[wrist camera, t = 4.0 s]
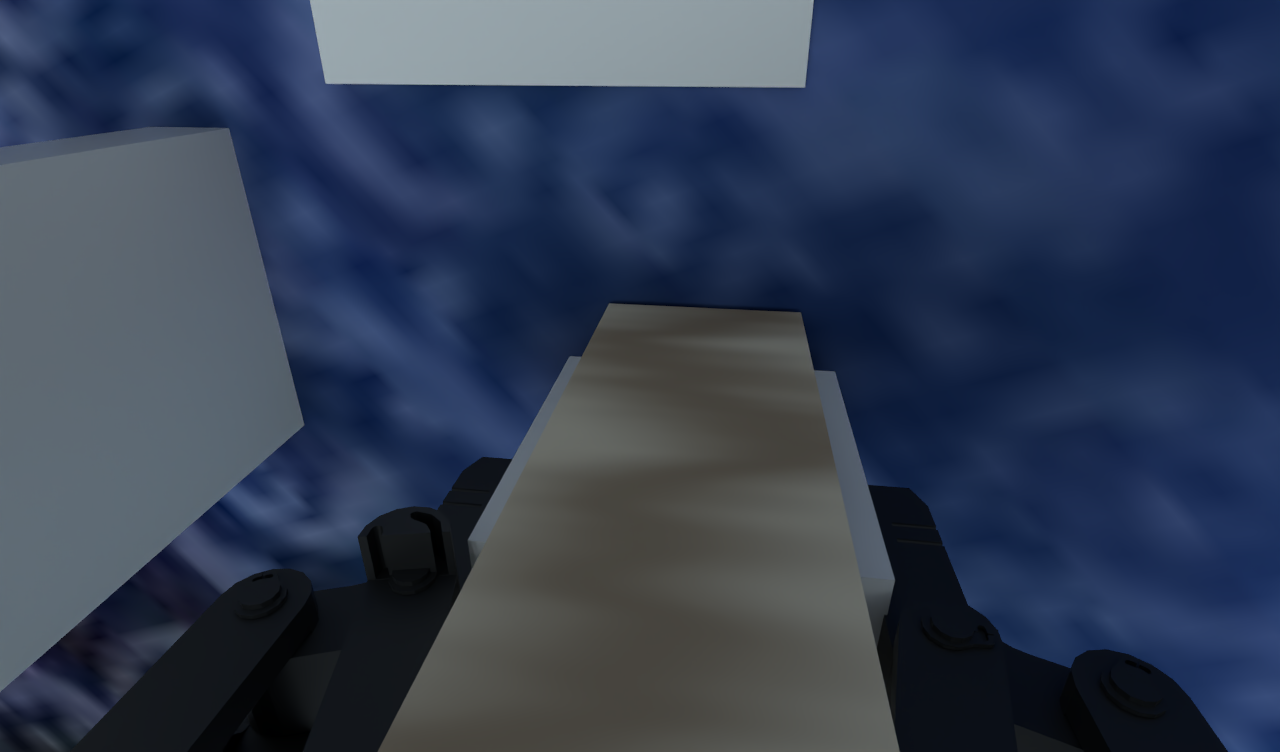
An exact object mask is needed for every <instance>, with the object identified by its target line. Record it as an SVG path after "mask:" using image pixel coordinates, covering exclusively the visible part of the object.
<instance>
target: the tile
mask: <svg viewBox="0 0 1280 752" xmlns="http://www.w3.org/2000/svg"><path fill="white" fill-rule="evenodd" d="M303 426H304V422H303V418H302V414H301V410H300V406H299V402H298V398H297V394H296V390H295V386H294V382H293V379H292V375H291V371H290V367H289V363H288V359H287V355H286V351H285V347H284V343H283V339H282V335H281V331H280V327H279V323H278V319H277V315H276V312H275V308H274V304H273V300H272V296H271V292H270V288H269V284H268V280H267V276H266V272H265V268H264V264H263V260H262V256H261V252H260V249H259V245H258V241H257V237H256V233H255V229H254V225H253V221H252V217H251V213H250V209H249V205H248V201H247V197H246V193H245V189H244V185H243V182H242V178H241V174H240V170H239V166H238V162H237V158H236V154H235V150H234V146H233V142H232V138H231V134H230V130H229V128H189V127H146V128H139V129H132V130H125V131H117V132H110V133H103V134H96V135H88V136H81V137H74V138H66V139H59V140H52V141H45V142H37V143H30V144H23V145H16V146H8V147H1V148H0V692H1V691H2V690H3V689H4V688H5V687H6V686H7V685H9V684H10V683H11V682H12V681H13V680H14V679H15V678H17V677H18V676H19V675H20V674H21V673H22V672H23V671H25V670H26V669H27V668H28V667H29V666H30V665H31V664H33V663H34V662H35V661H36V660H37V659H38V658H39V657H41V656H42V655H43V654H44V653H45V652H46V651H47V650H48V649H50V648H51V647H52V646H53V645H54V644H55V643H56V642H58V641H59V640H60V639H61V638H62V637H63V636H64V635H66V634H67V633H68V632H69V631H70V630H71V629H72V628H74V627H75V626H76V625H77V624H78V623H79V622H80V621H82V620H83V619H84V618H85V617H86V616H87V615H88V614H90V613H91V612H92V611H93V610H94V609H95V608H96V607H98V606H99V605H100V604H101V603H102V602H103V601H104V600H105V599H107V598H108V597H109V596H110V595H111V594H112V593H113V592H115V591H116V590H117V589H118V588H119V587H120V586H121V585H123V584H124V583H125V582H126V581H127V580H128V579H129V578H131V577H132V576H133V575H134V574H135V573H136V572H137V571H139V570H140V569H141V568H142V567H143V566H144V565H145V564H147V563H148V562H149V561H150V560H151V559H152V558H153V557H155V556H156V555H157V554H158V553H159V552H160V551H161V550H162V549H164V548H165V547H166V546H167V545H168V544H169V543H170V542H172V541H173V540H174V539H175V538H176V537H177V536H178V535H180V534H181V533H182V532H183V531H184V530H185V529H186V528H188V527H189V526H190V525H191V524H192V523H193V522H194V521H196V520H197V519H198V518H199V517H200V516H201V515H202V514H204V513H205V512H206V511H207V510H208V509H209V508H210V507H212V506H213V505H214V504H215V503H216V502H217V501H218V500H219V499H221V498H222V497H223V496H224V495H225V494H226V493H227V492H229V491H230V490H231V489H232V488H233V487H234V486H235V485H237V484H238V483H239V482H240V481H241V480H242V479H243V478H245V477H246V476H247V475H248V474H249V473H250V472H251V471H253V470H254V469H255V468H256V467H257V466H258V465H259V464H261V463H262V462H263V461H264V460H265V459H266V458H267V457H269V456H270V455H271V454H272V453H273V452H274V451H275V450H276V449H278V448H279V447H280V446H281V445H282V444H283V443H284V442H286V441H287V440H288V439H289V438H290V437H291V436H292V435H294V434H295V433H296V432H297V431H298V430H299V429H300V428H302V427H303Z"/></svg>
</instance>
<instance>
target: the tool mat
mask: <svg viewBox="0 0 1280 752" xmlns="http://www.w3.org/2000/svg"><path fill="white" fill-rule="evenodd" d="M310 3H311V8H312V14H313V19H314V24H315V29H316V35H317V40H318V45H319V51H320V56H321V61H322V67H323V72H324V77H325V82H326V84H420V85H545V86H671V87H796V88H805V82H806V72H807V62H808V52H809V42H810V32H811V23H812V13H813V3H814V0H310Z"/></svg>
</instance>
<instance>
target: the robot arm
mask: <svg viewBox="0 0 1280 752" xmlns="http://www.w3.org/2000/svg"><path fill="white" fill-rule="evenodd" d="M580 359H581V357H576V356H569V358H568V360H567V362H566V364H565V366H564V367H563V369H562V371H561V373H560V375H559V376H558V378H557V380H556V382H555V384H554V385H553V387H552V389H551V391H550V393H549V394H548V396H547V398H546V400H545V402H544V403H543V405H542V407H541V409H540V411H539V412H538V414H537V416H536V418H535V420H534V421H533V423H532V425H531V427H530V429H529V430H528V432H527V434H526V436H525V438H524V439H523V441H522V443H521V445H520V447H519V448H518V450H517V452H516V454H515V456H514V457H513V459H502V458H489V457H482V458H481V459H479V460H478V461H476V462H475V463H473V464H472V465H471V466H469V467H468V468H466V469H465V470H464V471H463V472H462V473H461V475H460V476H459V478H458V479H457V481H456V482H455V484H454V485H453V487H452V491H449V493H448V495H447V496H446V498H445V499H444V501H443V505H440V507H439V508H438V510H435V509H432V508H428V507H408V508H402V509H396V510H394V511H391V512H389V513H386V514H384V515H381V516H379V517H378V518H376V519H375V520H373V521H372V522H370V523H369V524H368V525H366V526H365V528H364V529H363V530H362V532H361V533H360V534H359V536H358V540H359V545H360V549H361V553H362V558H363V562H364V566H365V571H366V575H367V579H368V581H367V582H366V583H363V584H358V585H354V586H348V587H341V588H334V589H327V590H320V591H313V587H312V584H311V581H310V579H309V578H308V577H307V576H306V575H305V574H304V573H303V572H299V571H296V570H293V569H272V570H268V571H264V572H261V573H257V574H254V575H252V576H250V577H248V578H246V579H244V580H242V581H240V582H237V583H236V584H234V585H233V586H232V587H231V588H229V589H228V590H227V591H226V592H224V593H223V594H222V595H221V596H220V597H219V598H218V599H217V600H216V601H215V602H214V603H213V604H212V605H211V606H210V607H209V608H208V609H207V610H206V611H205V612H204V613H203V614H202V615H201V616H200V617H199V619H198V620H197V621H196V622H195V623H194V624H193V625H192V626H191V627H190V628H189V629H188V630H187V631H186V632H185V633H184V634H183V635H182V636H181V637H180V638H179V639H178V640H177V641H176V642H175V643H174V644H173V645H172V646H171V648H170V649H169V650H168V651H167V652H166V653H165V654H164V655H163V656H162V657H161V658H160V659H159V660H158V661H157V662H156V663H155V664H154V665H153V666H152V667H151V668H150V669H149V670H148V671H147V672H146V673H145V674H144V675H143V677H142V678H141V679H140V680H139V681H138V682H137V683H136V684H135V685H134V686H133V687H132V688H131V689H130V690H129V691H128V692H127V693H126V694H125V695H124V696H123V697H122V698H121V699H120V700H119V701H118V702H117V703H116V704H115V706H114V707H113V708H112V709H111V710H110V711H109V712H108V713H107V714H106V715H105V716H104V717H103V718H102V719H101V720H100V721H99V722H98V723H97V724H96V725H95V726H94V727H93V728H92V729H91V730H90V731H89V732H88V733H87V735H86V736H85V737H84V738H83V739H82V740H81V741H80V742H79V743H78V744H77V745H76V746H75V747H74V748H73V749H72V750H71V751H70V752H378V750H379V748H380V746H381V744H382V742H383V740H384V739H385V737H386V735H387V733H388V731H389V729H390V727H391V725H392V723H393V721H394V719H395V717H396V715H397V713H398V711H399V709H400V708H401V706H402V704H403V702H404V700H405V698H406V696H407V694H408V692H409V690H410V688H411V686H412V684H413V682H414V680H415V678H416V677H417V675H418V673H419V671H420V669H421V667H422V665H423V663H424V661H425V659H426V657H427V655H428V653H429V651H430V649H431V647H432V646H433V644H434V642H435V640H436V638H437V636H438V634H439V632H440V630H441V628H442V626H443V624H444V622H445V620H446V618H447V616H448V615H449V613H450V611H451V609H452V607H453V605H454V603H455V601H456V599H457V597H458V595H459V593H460V591H461V589H462V587H463V585H464V584H465V582H466V580H467V578H468V576H469V574H470V572H471V570H472V568H473V566H474V564H475V562H476V560H477V558H478V556H479V554H480V553H481V551H482V549H483V547H484V545H485V543H486V541H487V539H488V537H489V535H490V533H491V531H492V529H493V527H494V525H495V523H496V522H497V520H498V518H499V516H500V514H501V512H502V510H503V508H504V506H505V504H506V502H507V500H508V498H509V496H510V494H511V492H512V491H513V489H514V487H515V485H516V483H517V481H518V479H519V477H520V475H521V473H522V471H523V469H524V467H525V465H526V463H527V462H528V460H529V458H530V456H531V454H532V452H533V450H534V448H535V446H536V444H537V442H538V440H539V438H540V436H541V434H542V432H543V431H544V429H545V427H546V425H547V423H548V421H549V419H550V417H551V415H552V413H553V411H554V409H555V407H556V405H557V403H558V401H559V400H560V398H561V396H562V394H563V392H564V390H565V388H566V386H567V384H568V382H569V380H570V378H571V376H572V374H573V372H574V370H575V369H576V367H577V365H578V363H579V361H580ZM814 373H815V377H816V382H817V386H818V390H819V395H820V399H821V404H822V408H823V413H824V417H825V422H826V426H827V430H828V435H829V439H830V444H831V448H832V453H833V457H834V462H835V466H836V470H837V475H838V479H839V484H840V488H841V493H842V497H843V502H844V506H845V511H846V515H847V519H848V524H849V528H850V533H851V537H852V542H853V546H854V551H855V555H856V559H857V564H858V568H859V573H860V577H861V582H862V586H863V591H864V595H865V599H866V604H867V608H868V613H869V617H870V622H871V626H872V631H873V635H874V639H875V644H876V648H877V653H878V657H879V662H880V666H881V671H882V675H883V679H884V684H885V688H886V693H887V697H888V702H889V706H890V711H891V715H892V720H893V724H894V728H895V733H896V737H897V742H898V746H899V751H900V752H1228V751H1227V750H1226V748H1225V747H1224V745H1223V744H1222V743H1221V741H1220V740H1219V738H1218V737H1217V735H1216V734H1215V733H1214V731H1213V730H1212V728H1211V727H1210V725H1209V724H1208V723H1207V721H1206V720H1205V718H1204V717H1203V716H1202V714H1201V713H1200V711H1199V710H1198V708H1197V707H1196V706H1195V704H1194V703H1193V701H1192V700H1191V698H1190V697H1189V696H1188V695H1187V694H1186V693H1185V692H1184V691H1183V690H1182V689H1181V688H1180V686H1179V685H1178V684H1177V683H1176V682H1175V681H1174V680H1173V679H1171V678H1170V677H1168V676H1167V675H1166V674H1164V673H1163V672H1161V671H1160V670H1158V669H1157V668H1156V667H1154V666H1153V665H1151V664H1149V663H1146V662H1144V661H1142V660H1140V659H1137V658H1135V657H1133V656H1131V655H1129V654H1124V653H1120V652H1115V651H1111V650H1089V651H1086V652H1084V653H1083V654H1081V655H1079V656H1077V657H1076V658H1075V660H1074V662H1073V665H1072V667H1071V668H1068V667H1065V666H1062V665H1059V664H1056V663H1053V662H1050V661H1047V660H1044V659H1041V658H1038V657H1035V656H1032V655H1029V654H1027V653H1024V652H1022V651H1020V650H1017V649H1015V648H1012V647H1011V646H1009V645H1007V644H1005V643H1004V642H1002V640H1001V638H1000V635H999V633H998V630H997V629H996V628H995V627H994V626H993V625H992V624H991V623H990V621H989V620H988V619H987V618H986V617H985V616H983V615H982V614H980V613H979V612H977V611H976V610H974V609H973V608H971V607H970V606H968V604H967V602H966V599H965V597H964V594H963V592H962V589H961V587H960V584H959V582H958V579H957V577H956V575H955V572H954V570H953V567H952V565H951V562H950V560H949V557H948V555H947V552H946V550H945V547H944V546H942V540H941V538H940V535H939V533H938V530H936V525H935V523H934V520H933V518H932V515H931V513H930V511H929V508H928V506H927V505H926V504H925V503H924V502H923V501H922V500H921V499H920V498H919V497H918V496H917V495H916V494H915V493H914V492H913V491H911V490H910V489H909V488H900V487H887V486H874V485H867V481H866V478H865V474H864V471H863V467H862V464H861V460H860V457H859V453H858V450H857V446H856V443H855V439H854V436H853V432H852V429H851V425H850V422H849V419H848V415H847V412H846V408H845V405H844V401H843V398H842V394H841V391H840V387H839V384H838V380H837V377H836V373H835V371H817V370H814Z"/></svg>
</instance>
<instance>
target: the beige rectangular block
mask: <svg viewBox="0 0 1280 752" xmlns="http://www.w3.org/2000/svg"><path fill="white" fill-rule="evenodd" d="M378 752H900V751H899V746H898V742H897V737H896V733H895V728H894V724H893V720H892V715H891V711H890V706H889V702H888V697H887V693H886V688H885V684H884V679H883V675H882V671H881V666H880V662H879V657H878V653H877V648H876V644H875V639H874V635H873V631H872V626H871V622H870V617H869V613H868V608H867V604H866V599H865V595H864V591H863V586H862V582H861V577H860V573H859V568H858V564H857V559H856V555H855V551H854V546H853V542H852V537H851V533H850V528H849V524H848V519H847V515H846V511H845V506H844V502H843V497H842V493H841V488H840V484H839V479H838V475H837V470H836V466H835V462H834V457H833V453H832V448H831V444H830V439H829V435H828V430H827V426H826V422H825V417H824V413H823V408H822V404H821V399H820V395H819V390H818V386H817V382H816V377H815V373H814V368H813V364H812V359H811V355H810V350H809V346H808V342H807V337H806V333H805V328H804V324H803V319H802V315H801V312H780V311H759V310H738V309H717V308H696V307H675V306H654V305H633V304H612V303H609V305H608V307H607V308H606V310H605V312H604V314H603V316H602V318H601V320H600V322H599V324H598V326H597V328H596V330H595V332H594V334H593V336H592V338H591V339H590V341H589V343H588V345H587V347H586V349H585V351H584V353H583V355H582V357H581V359H580V361H579V363H578V365H577V367H576V369H575V370H574V372H573V374H572V376H571V378H570V380H569V382H568V384H567V386H566V388H565V390H564V392H563V394H562V396H561V398H560V400H559V401H558V403H557V405H556V407H555V409H554V411H553V413H552V415H551V417H550V419H549V421H548V423H547V425H546V427H545V429H544V431H543V432H542V434H541V436H540V438H539V440H538V442H537V444H536V446H535V448H534V450H533V452H532V454H531V456H530V458H529V460H528V462H527V463H526V465H525V467H524V469H523V471H522V473H521V475H520V477H519V479H518V481H517V483H516V485H515V487H514V489H513V491H512V492H511V494H510V496H509V498H508V500H507V502H506V504H505V506H504V508H503V510H502V512H501V514H500V516H499V518H498V520H497V522H496V523H495V525H494V527H493V529H492V531H491V533H490V535H489V537H488V539H487V541H486V543H485V545H484V547H483V549H482V551H481V553H480V554H479V556H478V558H477V560H476V562H475V564H474V566H473V568H472V570H471V572H470V574H469V576H468V578H467V580H466V582H465V584H464V585H463V587H462V589H461V591H460V593H459V595H458V597H457V599H456V601H455V603H454V605H453V607H452V609H451V611H450V613H449V615H448V616H447V618H446V620H445V622H444V624H443V626H442V628H441V630H440V632H439V634H438V636H437V638H436V640H435V642H434V644H433V646H432V647H431V649H430V651H429V653H428V655H427V657H426V659H425V661H424V663H423V665H422V667H421V669H420V671H419V673H418V675H417V677H416V678H415V680H414V682H413V684H412V686H411V688H410V690H409V692H408V694H407V696H406V698H405V700H404V702H403V704H402V706H401V708H400V709H399V711H398V713H397V715H396V717H395V719H394V721H393V723H392V725H391V727H390V729H389V731H388V733H387V735H386V737H385V739H384V740H383V742H382V744H381V746H380V748H379V750H378Z"/></svg>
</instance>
